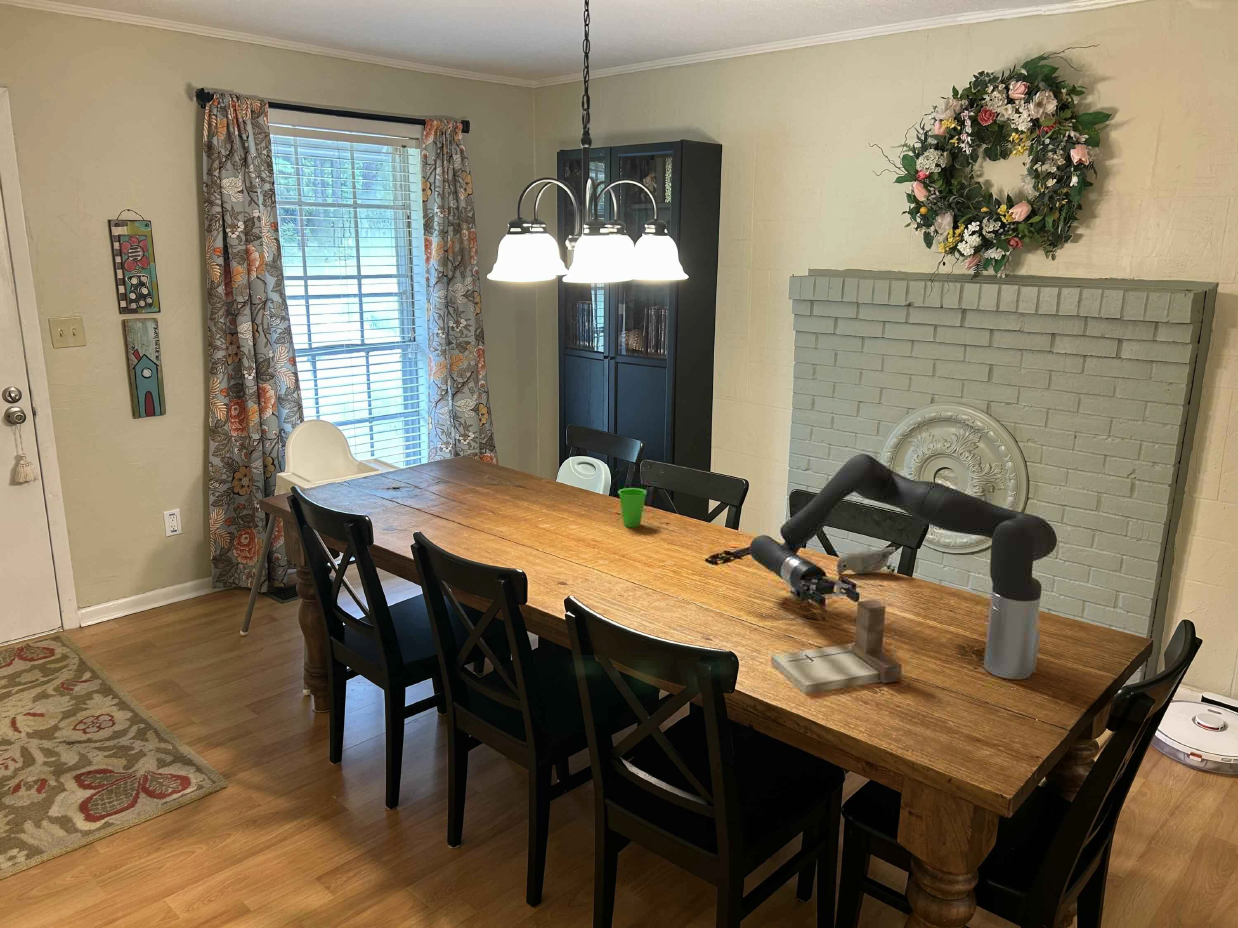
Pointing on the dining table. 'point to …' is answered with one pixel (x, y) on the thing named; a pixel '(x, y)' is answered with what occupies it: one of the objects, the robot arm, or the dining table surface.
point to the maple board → (825, 668)
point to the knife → (725, 559)
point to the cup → (632, 505)
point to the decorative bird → (865, 561)
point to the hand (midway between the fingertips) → (841, 600)
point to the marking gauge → (874, 640)
